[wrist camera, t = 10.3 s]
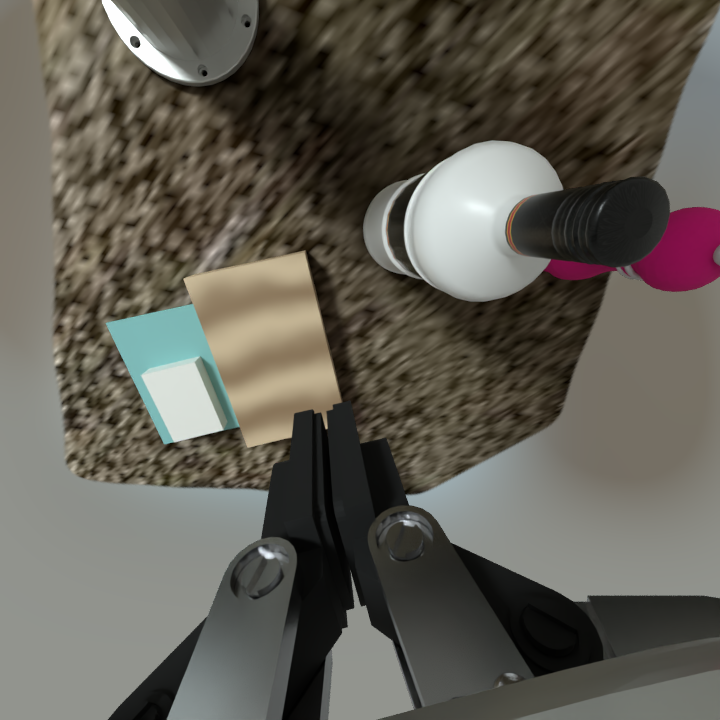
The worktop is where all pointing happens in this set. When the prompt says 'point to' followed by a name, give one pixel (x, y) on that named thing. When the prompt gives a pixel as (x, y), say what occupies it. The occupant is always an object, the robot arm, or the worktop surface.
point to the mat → (167, 353)
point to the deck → (267, 342)
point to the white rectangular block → (185, 399)
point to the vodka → (507, 222)
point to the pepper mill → (667, 255)
